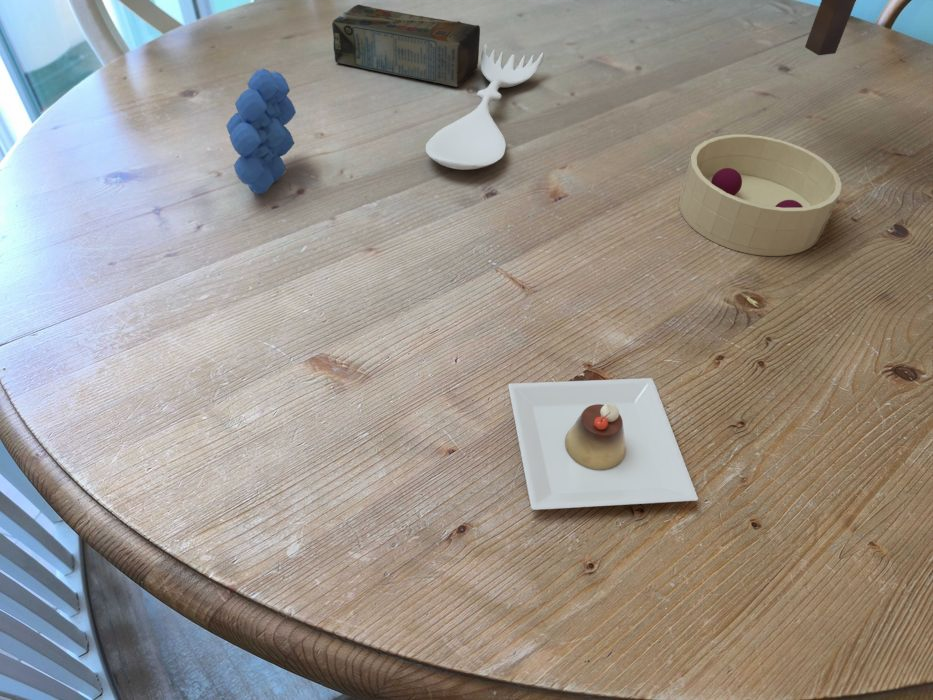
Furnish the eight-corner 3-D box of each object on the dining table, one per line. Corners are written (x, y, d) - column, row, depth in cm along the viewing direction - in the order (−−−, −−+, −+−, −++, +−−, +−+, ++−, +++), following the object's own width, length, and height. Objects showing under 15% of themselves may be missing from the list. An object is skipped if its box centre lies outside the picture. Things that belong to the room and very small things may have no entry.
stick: (821, 45, 85) (857, -51, 78) (835, 53, 84) (873, -44, 77) (804, 47, 85) (838, -49, 78) (818, 55, 83) (854, -42, 76)
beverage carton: (358, 43, 110) (356, -4, 106) (481, 69, 106) (484, 21, 101) (332, 64, 105) (329, 15, 100) (460, 91, 100) (462, 42, 96)
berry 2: (785, 217, 80) (796, 191, 78) (805, 234, 78) (816, 208, 76) (761, 222, 79) (770, 196, 77) (779, 239, 77) (790, 213, 75)
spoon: (544, 73, 106) (547, 49, 103) (492, 189, 83) (494, 161, 81) (482, 64, 107) (483, 39, 105) (414, 175, 84) (414, 148, 82)
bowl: (764, 169, 89) (780, 126, 85) (852, 242, 79) (874, 197, 75) (653, 188, 85) (664, 144, 81) (730, 267, 75) (746, 221, 71)
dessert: (529, 518, 52) (537, 477, 49) (506, 392, 61) (511, 350, 58) (694, 509, 54) (713, 468, 50) (649, 387, 62) (662, 345, 59)
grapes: (259, 149, 87) (242, 46, 79) (313, 159, 86) (302, 55, 78) (210, 202, 79) (185, 93, 71) (270, 213, 78) (252, 104, 70)
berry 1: (730, 178, 84) (743, 161, 81) (736, 203, 83) (750, 186, 80) (703, 179, 83) (715, 162, 81) (709, 204, 82) (722, 187, 79)
